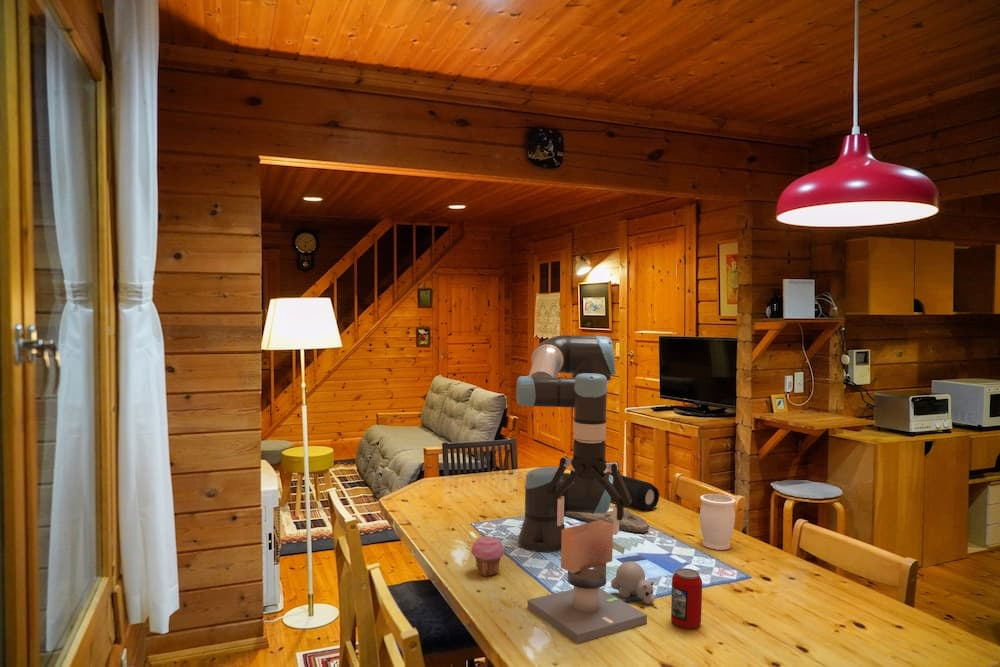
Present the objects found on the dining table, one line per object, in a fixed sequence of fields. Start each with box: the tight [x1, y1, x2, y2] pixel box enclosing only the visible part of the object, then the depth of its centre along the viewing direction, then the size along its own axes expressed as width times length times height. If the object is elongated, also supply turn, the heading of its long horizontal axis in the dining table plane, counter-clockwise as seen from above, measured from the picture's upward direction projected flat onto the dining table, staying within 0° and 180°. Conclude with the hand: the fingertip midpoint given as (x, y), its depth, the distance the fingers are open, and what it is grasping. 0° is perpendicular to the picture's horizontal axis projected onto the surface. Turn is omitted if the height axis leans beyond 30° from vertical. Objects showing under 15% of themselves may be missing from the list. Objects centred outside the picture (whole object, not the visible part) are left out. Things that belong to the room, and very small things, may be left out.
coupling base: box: [527, 586, 648, 644], centre depth 160 cm, size 20×20×8 cm
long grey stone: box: [564, 509, 650, 533], centre depth 233 cm, size 35×5×10 cm
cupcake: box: [471, 535, 505, 577], centre depth 185 cm, size 9×9×10 cm
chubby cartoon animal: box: [610, 560, 656, 605], centre depth 170 cm, size 7×12×8 cm, turn 38°
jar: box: [699, 493, 736, 551], centre depth 210 cm, size 11×10×15 cm
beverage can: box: [670, 567, 703, 629], centre depth 157 cm, size 7×7×12 cm
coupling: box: [560, 520, 614, 589], centre depth 160 cm, size 13×9×13 cm
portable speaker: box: [609, 472, 660, 511], centre depth 256 cm, size 26×10×10 cm, turn 38°
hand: (587, 528), depth 160 cm, fingers open, 13 cm apart
